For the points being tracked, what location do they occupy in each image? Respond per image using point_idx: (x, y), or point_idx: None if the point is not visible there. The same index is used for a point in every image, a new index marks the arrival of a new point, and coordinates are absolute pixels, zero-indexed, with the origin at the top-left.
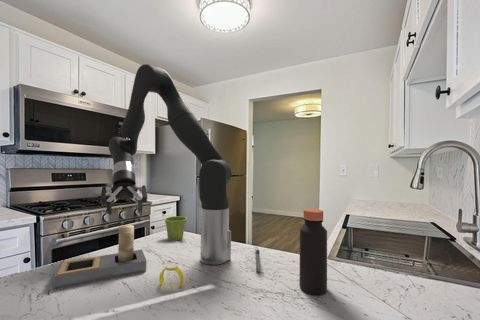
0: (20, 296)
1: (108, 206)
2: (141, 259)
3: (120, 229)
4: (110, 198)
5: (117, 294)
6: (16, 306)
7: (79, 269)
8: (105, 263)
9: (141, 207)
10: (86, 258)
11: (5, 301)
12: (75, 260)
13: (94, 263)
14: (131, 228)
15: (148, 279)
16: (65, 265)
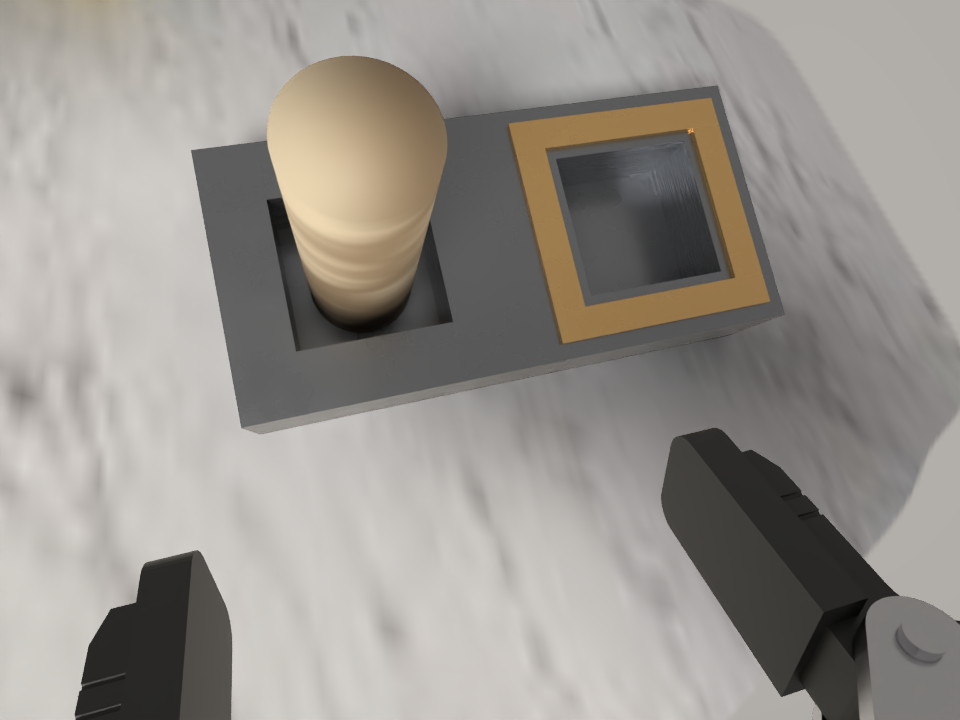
0: (801, 160)
1: (802, 533)
2: (232, 185)
3: (418, 90)
4: (940, 707)
5: (359, 18)
6: (765, 74)
7: (617, 130)
8: (486, 192)
9: (117, 633)
10: (643, 318)
11: (834, 134)
12: (701, 299)
13: (558, 202)
14: (293, 84)
15: (198, 128)
16: (726, 226)
